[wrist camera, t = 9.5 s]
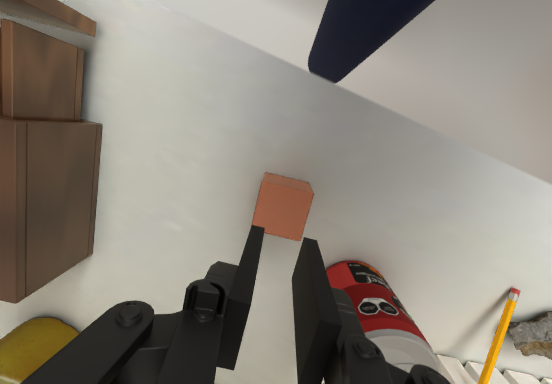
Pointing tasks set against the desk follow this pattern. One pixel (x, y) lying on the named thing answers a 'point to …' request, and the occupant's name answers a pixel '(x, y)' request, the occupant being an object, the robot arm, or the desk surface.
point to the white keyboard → (468, 376)
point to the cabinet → (45, 200)
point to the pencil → (499, 337)
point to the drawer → (41, 62)
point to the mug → (31, 347)
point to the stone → (533, 336)
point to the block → (283, 206)
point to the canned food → (382, 315)
